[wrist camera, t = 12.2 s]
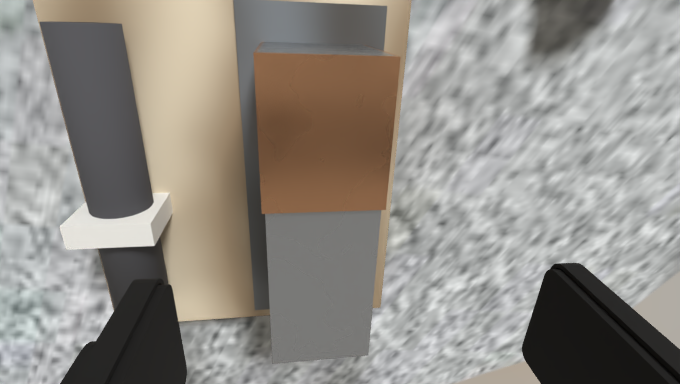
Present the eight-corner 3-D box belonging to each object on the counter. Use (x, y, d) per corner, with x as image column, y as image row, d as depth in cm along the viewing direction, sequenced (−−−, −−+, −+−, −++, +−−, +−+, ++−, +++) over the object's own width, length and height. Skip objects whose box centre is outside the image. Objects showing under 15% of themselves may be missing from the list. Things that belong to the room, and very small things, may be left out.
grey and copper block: (364, 45, 16) (400, 56, 11) (350, 281, 21) (371, 358, 16) (261, 41, 15) (253, 52, 11) (272, 286, 20) (269, 367, 15)
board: (403, -6, 16) (412, -7, 15) (375, 293, 23) (380, 308, 22) (44, -24, 14) (24, -28, 13) (126, 310, 21) (117, 327, 20)
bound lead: (147, 23, 15) (112, 25, 12) (188, 291, 20) (172, 340, 17) (56, 20, 14) (-3, 21, 11) (124, 295, 20) (95, 346, 17)
